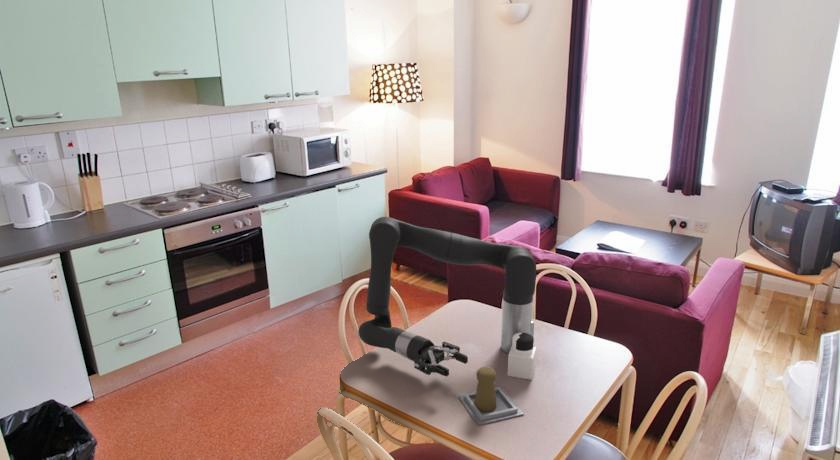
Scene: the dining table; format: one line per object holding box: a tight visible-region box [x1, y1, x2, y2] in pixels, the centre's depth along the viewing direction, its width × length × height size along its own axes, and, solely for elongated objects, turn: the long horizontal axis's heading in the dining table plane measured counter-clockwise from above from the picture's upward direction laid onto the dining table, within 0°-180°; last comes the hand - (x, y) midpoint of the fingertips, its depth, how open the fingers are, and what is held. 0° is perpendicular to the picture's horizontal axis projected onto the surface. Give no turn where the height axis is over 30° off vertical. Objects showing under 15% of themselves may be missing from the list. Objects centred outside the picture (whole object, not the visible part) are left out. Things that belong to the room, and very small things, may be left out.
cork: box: [474, 366, 497, 413], centre depth 146 cm, size 6×6×11 cm
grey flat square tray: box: [458, 386, 525, 427], centre depth 148 cm, size 13×13×1 cm
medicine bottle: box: [507, 333, 537, 381], centre depth 162 cm, size 7×7×12 cm
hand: (457, 366), depth 153 cm, fingers open, 8 cm apart
